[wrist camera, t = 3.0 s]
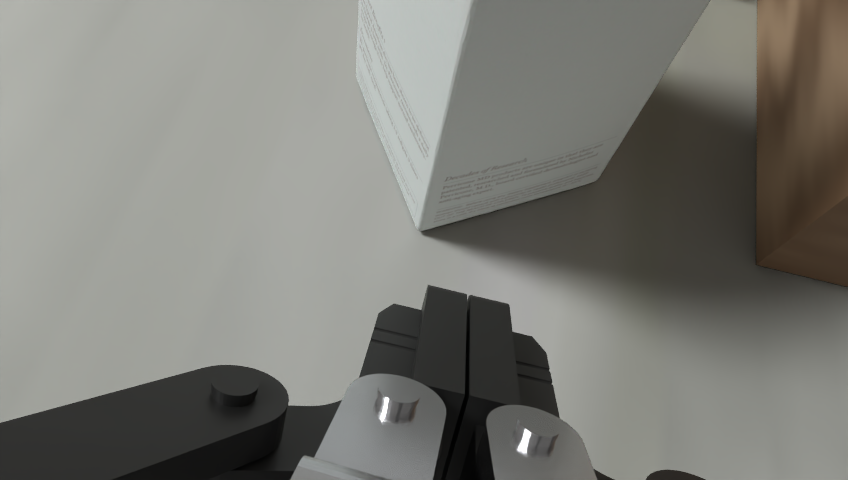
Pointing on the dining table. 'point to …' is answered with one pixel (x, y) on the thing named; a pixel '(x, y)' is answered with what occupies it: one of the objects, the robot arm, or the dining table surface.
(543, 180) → the supplement box
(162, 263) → the dining table surface
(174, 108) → the dining table surface
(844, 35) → the walnut partition
